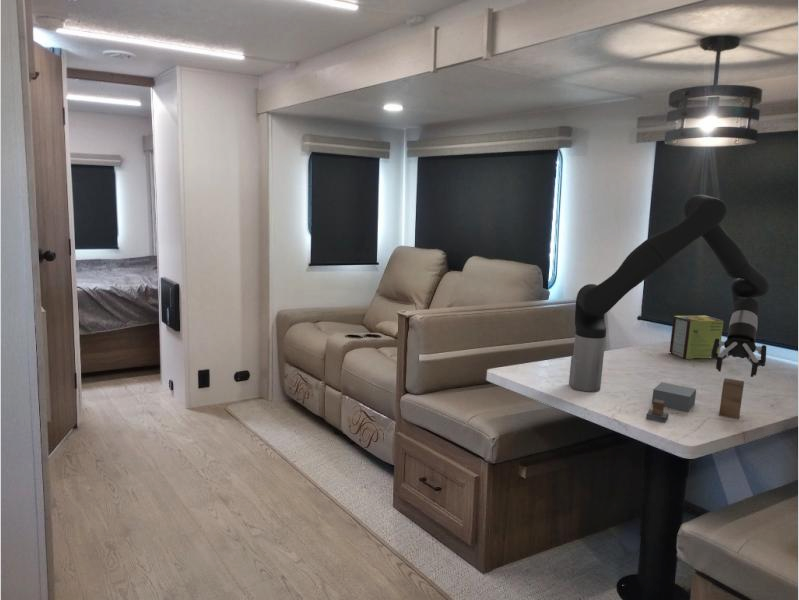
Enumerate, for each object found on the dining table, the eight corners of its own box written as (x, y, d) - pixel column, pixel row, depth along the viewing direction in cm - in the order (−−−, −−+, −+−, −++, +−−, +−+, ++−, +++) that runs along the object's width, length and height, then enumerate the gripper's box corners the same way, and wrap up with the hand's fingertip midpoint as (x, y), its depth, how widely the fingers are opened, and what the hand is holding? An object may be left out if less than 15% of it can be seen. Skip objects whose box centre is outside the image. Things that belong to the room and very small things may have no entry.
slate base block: (659, 397, 193) (661, 382, 192) (694, 404, 187) (696, 388, 186) (651, 405, 185) (653, 389, 184) (687, 413, 179) (689, 396, 178)
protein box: (719, 358, 244) (724, 320, 242) (685, 359, 241) (690, 320, 238) (700, 352, 254) (705, 315, 252) (668, 352, 251) (672, 315, 248)
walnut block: (720, 410, 181) (724, 378, 180) (739, 414, 179) (744, 381, 177) (718, 415, 177) (723, 382, 176) (738, 419, 175) (743, 385, 173)
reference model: (649, 413, 176) (651, 397, 175) (668, 417, 173) (670, 400, 173) (646, 418, 172) (647, 401, 171) (665, 422, 169) (667, 405, 168)
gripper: (717, 318, 190) (709, 361, 183) (770, 324, 183) (764, 370, 175) (716, 332, 196) (708, 375, 188) (768, 339, 189) (762, 384, 181)
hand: (735, 372), depth 182 cm, fingers open, 8 cm apart
